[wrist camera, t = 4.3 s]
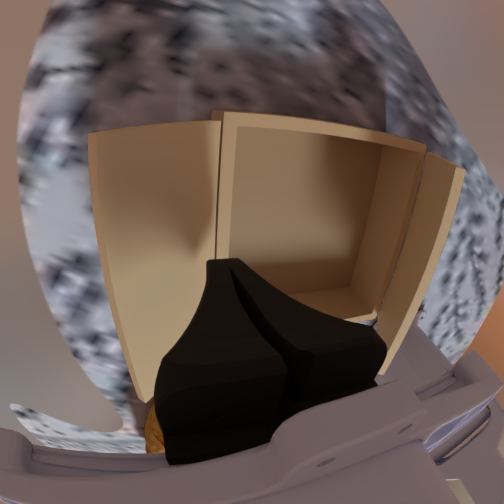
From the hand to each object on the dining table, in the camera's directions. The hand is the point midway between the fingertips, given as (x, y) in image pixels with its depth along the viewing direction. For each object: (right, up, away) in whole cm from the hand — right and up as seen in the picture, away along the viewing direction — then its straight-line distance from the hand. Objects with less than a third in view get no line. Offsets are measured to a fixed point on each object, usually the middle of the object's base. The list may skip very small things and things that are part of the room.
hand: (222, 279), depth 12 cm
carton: (+4, +3, +7) cm, 9 cm away
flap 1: (-2, 0, 0) cm, 2 cm away
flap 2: (+10, +1, +3) cm, 10 cm away
